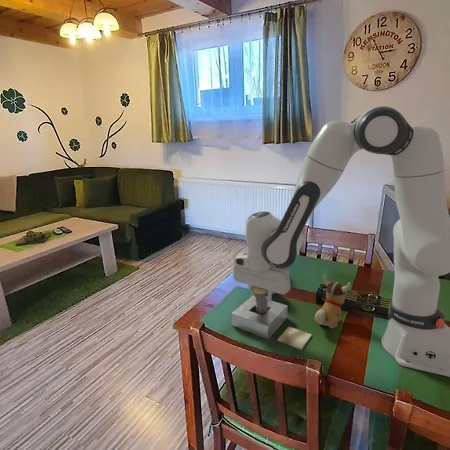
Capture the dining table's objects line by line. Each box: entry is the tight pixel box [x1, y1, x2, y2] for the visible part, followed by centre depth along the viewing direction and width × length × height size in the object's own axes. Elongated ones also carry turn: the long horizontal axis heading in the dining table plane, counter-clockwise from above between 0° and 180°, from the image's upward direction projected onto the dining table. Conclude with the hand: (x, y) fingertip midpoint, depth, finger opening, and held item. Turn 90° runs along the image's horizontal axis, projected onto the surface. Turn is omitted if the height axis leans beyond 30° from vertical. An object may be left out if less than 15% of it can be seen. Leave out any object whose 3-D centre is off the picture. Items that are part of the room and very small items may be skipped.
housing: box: [231, 295, 288, 340], centre depth 114 cm, size 14×14×5 cm
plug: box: [253, 286, 268, 316], centre depth 112 cm, size 5×5×11 cm
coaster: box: [277, 326, 312, 351], centre depth 105 cm, size 8×8×1 cm
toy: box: [314, 274, 352, 329], centre depth 110 cm, size 10×16×15 cm, turn 135°
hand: (261, 297), depth 111 cm, fingers closed on plug, 4 cm apart
